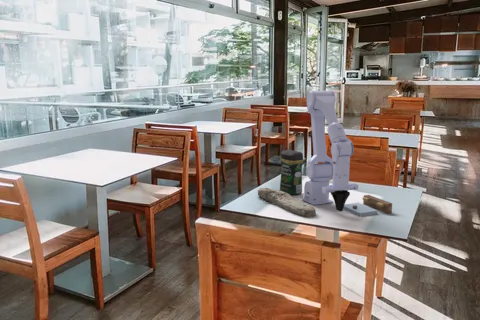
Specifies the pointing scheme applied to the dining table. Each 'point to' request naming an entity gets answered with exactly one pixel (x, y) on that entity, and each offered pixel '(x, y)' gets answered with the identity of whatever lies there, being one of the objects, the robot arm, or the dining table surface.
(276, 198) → the long grey stone
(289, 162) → the coffee jar
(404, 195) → the dining table surface
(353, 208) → the door panel
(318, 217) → the dining table surface
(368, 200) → the brown long block
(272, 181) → the dining table surface
